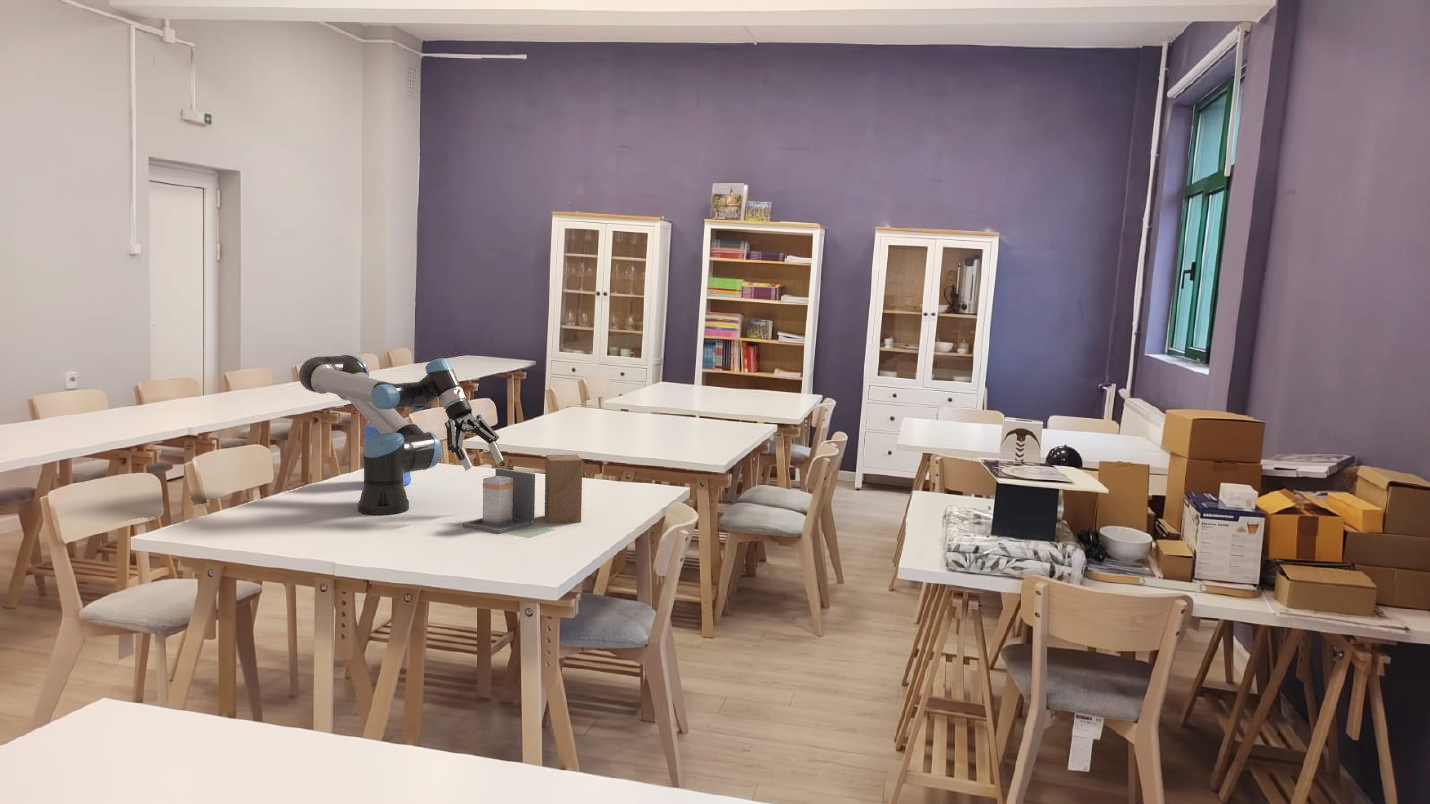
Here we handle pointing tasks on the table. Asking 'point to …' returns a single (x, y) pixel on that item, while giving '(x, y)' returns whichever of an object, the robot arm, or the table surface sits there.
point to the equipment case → (514, 502)
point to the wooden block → (563, 488)
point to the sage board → (531, 531)
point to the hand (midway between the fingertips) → (484, 465)
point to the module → (497, 501)
